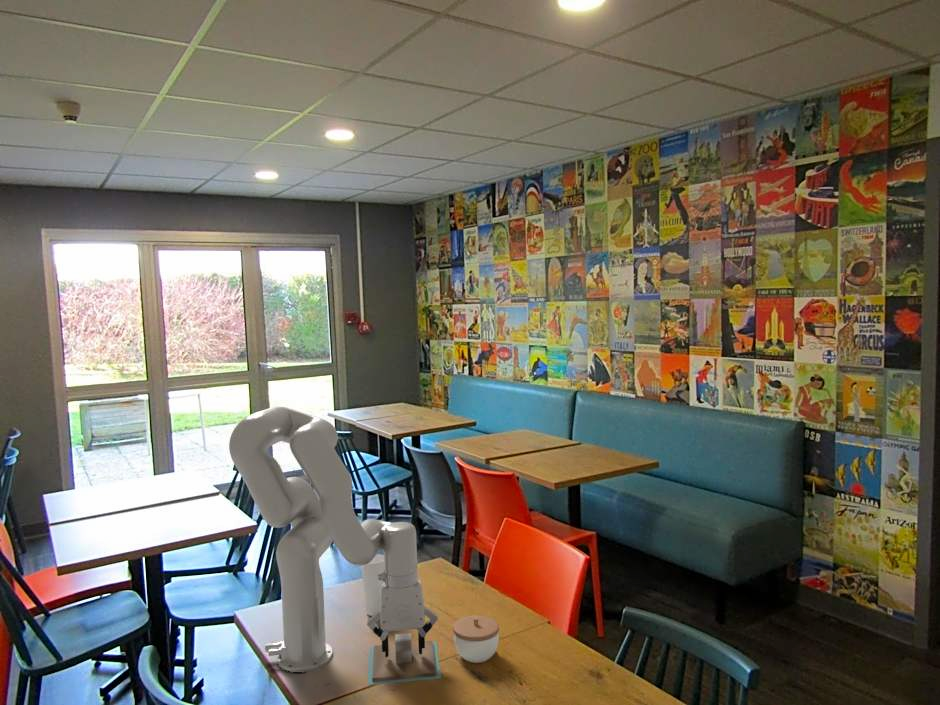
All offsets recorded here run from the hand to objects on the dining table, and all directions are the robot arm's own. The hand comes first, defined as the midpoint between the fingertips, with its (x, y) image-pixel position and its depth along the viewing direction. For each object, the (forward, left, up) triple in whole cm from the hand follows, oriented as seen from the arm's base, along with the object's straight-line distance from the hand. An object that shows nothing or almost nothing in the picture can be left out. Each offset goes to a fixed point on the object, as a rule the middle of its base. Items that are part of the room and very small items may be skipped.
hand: (403, 652), depth 150 cm
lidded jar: (+17, 0, -3) cm, 17 cm away
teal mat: (0, 0, -3) cm, 3 cm away
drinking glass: (-7, +27, -3) cm, 28 cm away
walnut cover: (0, 0, -2) cm, 2 cm away
